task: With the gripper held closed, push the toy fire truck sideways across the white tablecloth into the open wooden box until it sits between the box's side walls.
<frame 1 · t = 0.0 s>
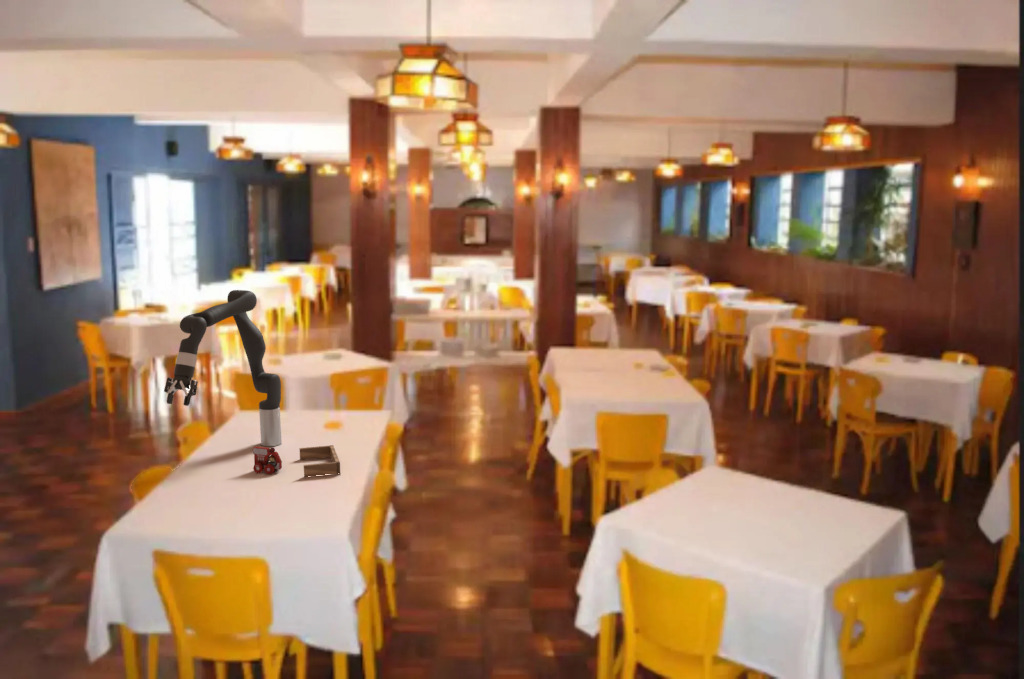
hand: (177, 404, 363), 31 cm above the table, tool tilted 20°, fingers open, 8 cm apart
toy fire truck: (267, 472, 379), on the table
open wooden box: (319, 466, 385), on the table
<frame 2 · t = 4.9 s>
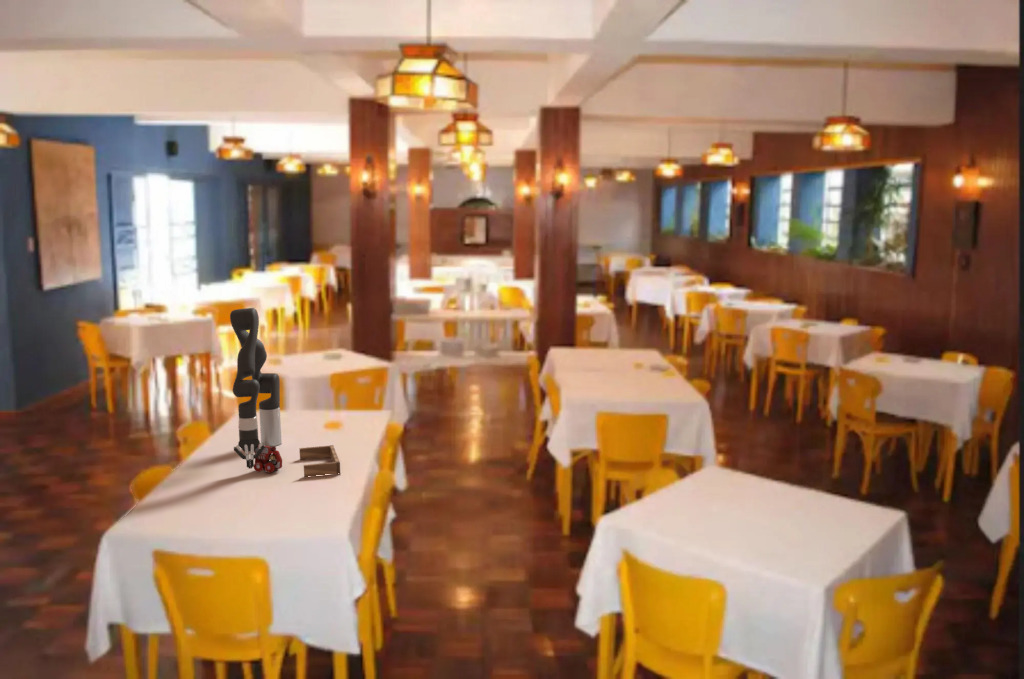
hand: (250, 468, 377), 2 cm above the table, tool pointing down, fingers closed
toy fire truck: (267, 471, 379), on the table, touching gripper, hand
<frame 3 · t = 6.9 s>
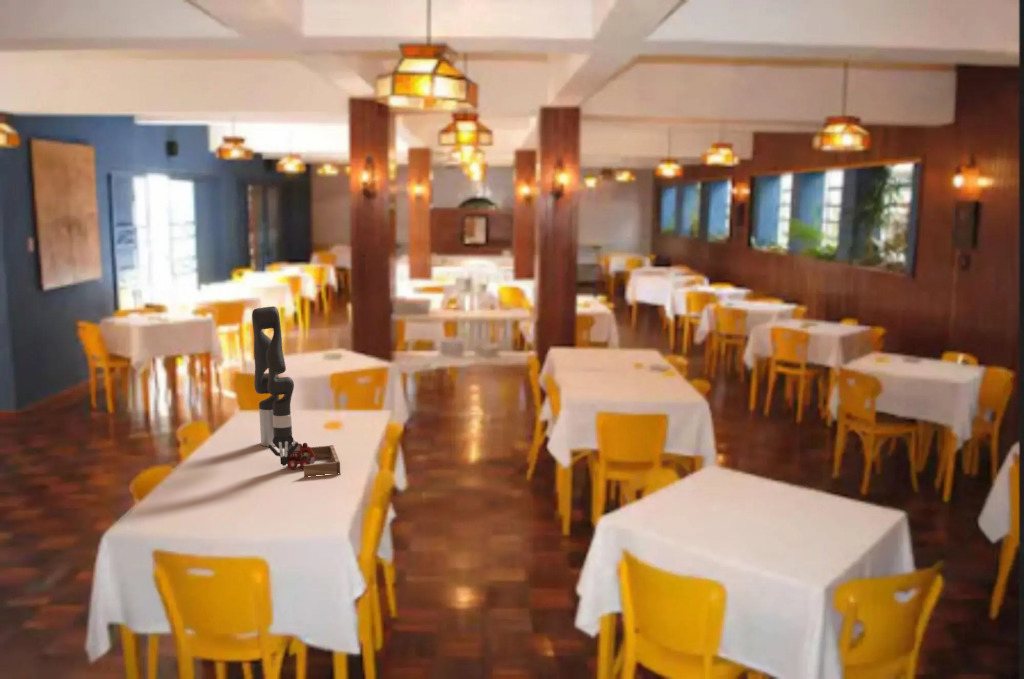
hand: (284, 465, 380), 2 cm above the table, tool pointing down, fingers closed
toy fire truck: (300, 467, 385), on the table, touching gripper
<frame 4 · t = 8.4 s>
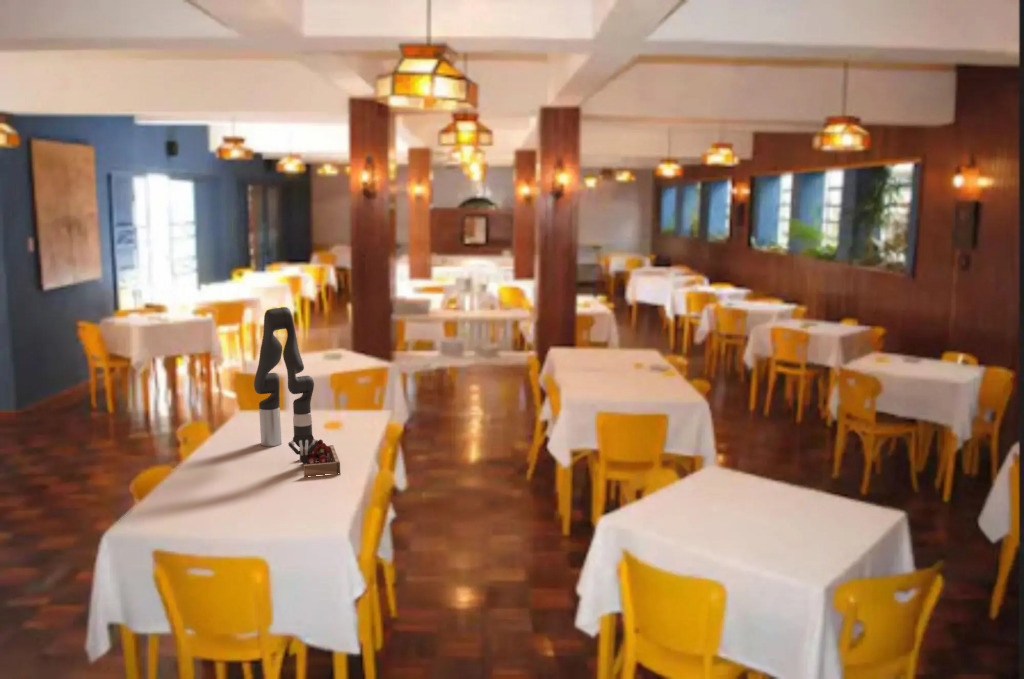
hand: (304, 463, 383), 2 cm above the table, tool pointing down, fingers closed
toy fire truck: (316, 464, 389), on the table
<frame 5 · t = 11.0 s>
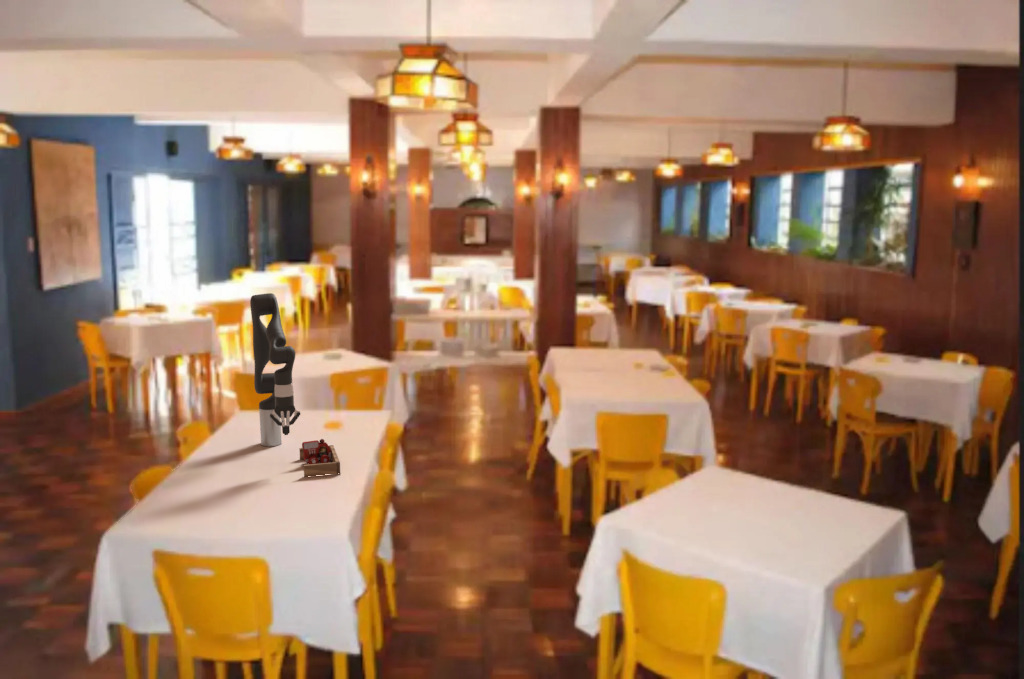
hand: (286, 434, 379), 15 cm above the table, tool pointing down, fingers closed
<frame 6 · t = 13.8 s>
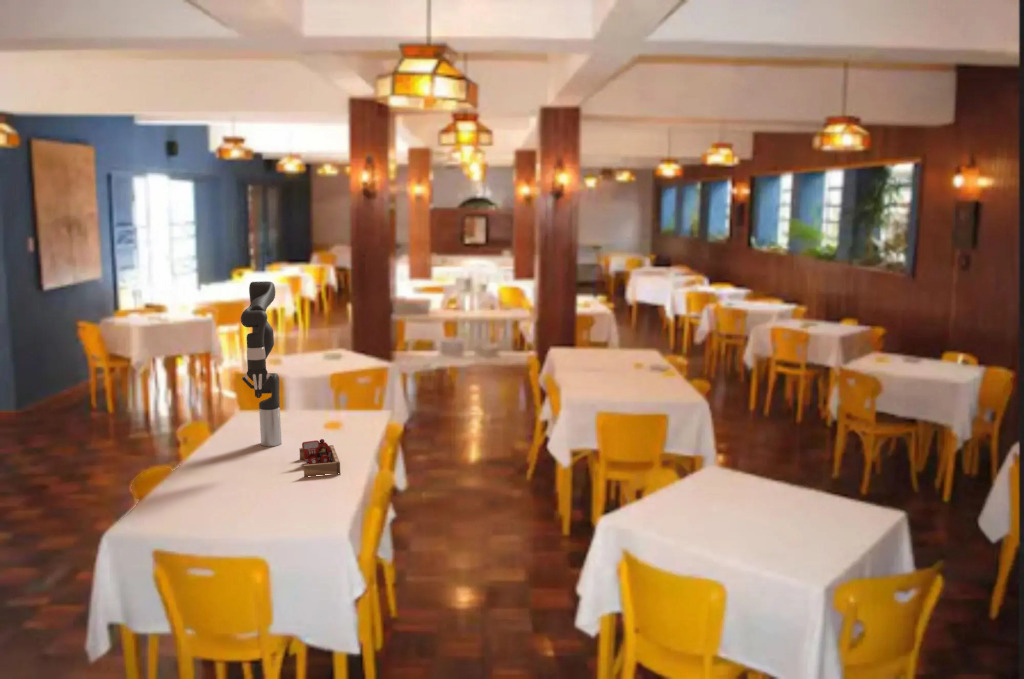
hand: (258, 397, 385), 29 cm above the table, tool pointing down, fingers closed
nothing on the table moved.
at the end: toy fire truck inside the target area on the open wooden box (5.0 cm from its centre), point 0.0 cm above the open wooden box's base; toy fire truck tilted 0° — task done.
